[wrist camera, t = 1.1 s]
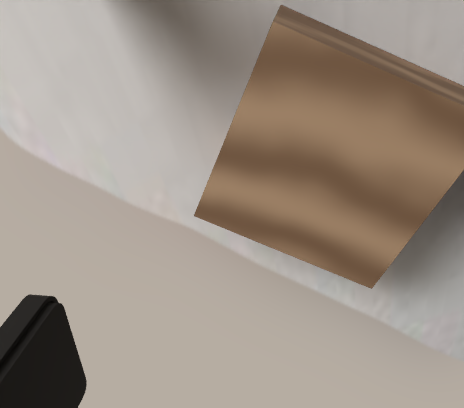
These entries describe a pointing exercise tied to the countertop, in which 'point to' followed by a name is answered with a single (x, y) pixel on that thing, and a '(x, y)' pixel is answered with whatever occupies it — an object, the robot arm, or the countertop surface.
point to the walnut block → (335, 150)
